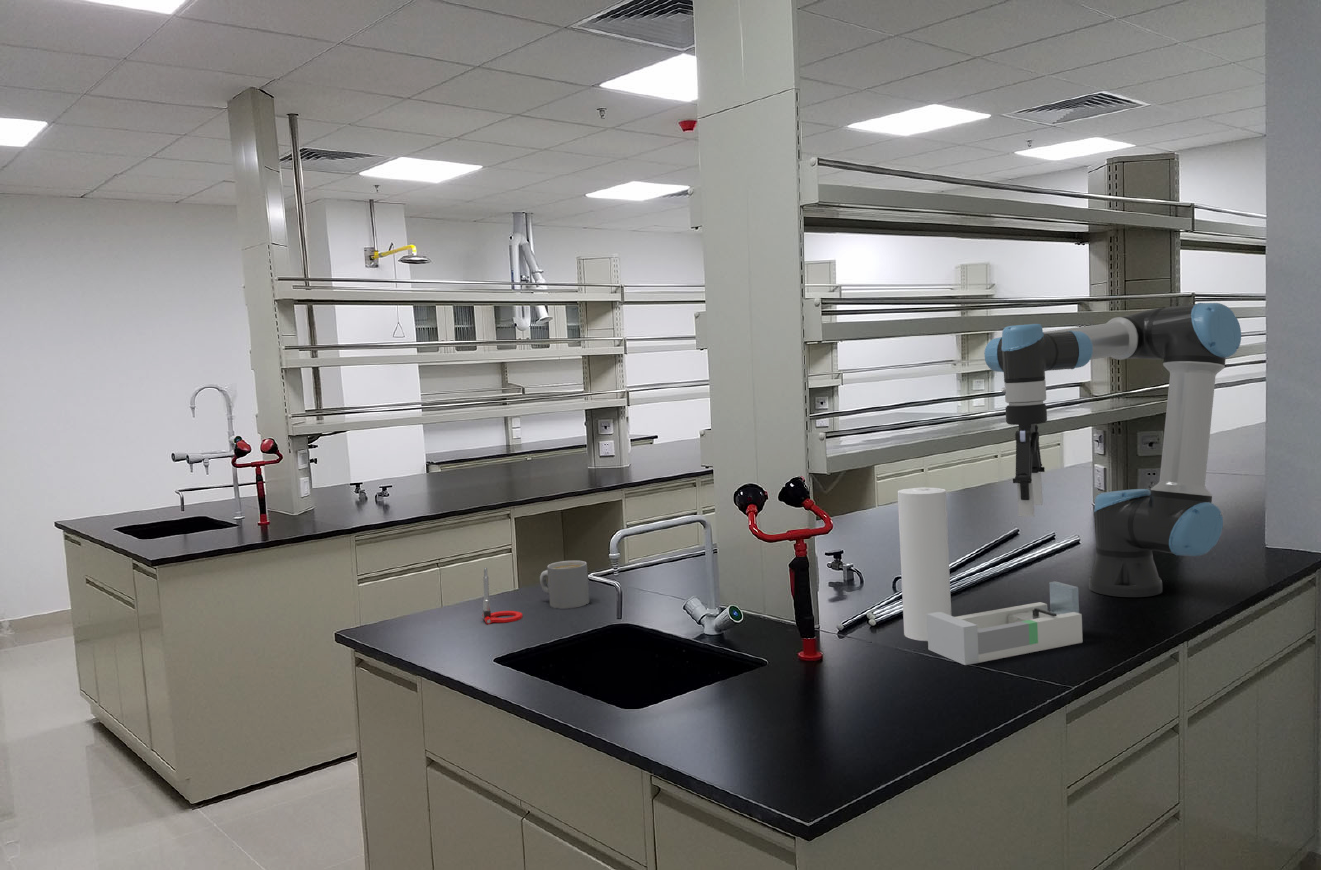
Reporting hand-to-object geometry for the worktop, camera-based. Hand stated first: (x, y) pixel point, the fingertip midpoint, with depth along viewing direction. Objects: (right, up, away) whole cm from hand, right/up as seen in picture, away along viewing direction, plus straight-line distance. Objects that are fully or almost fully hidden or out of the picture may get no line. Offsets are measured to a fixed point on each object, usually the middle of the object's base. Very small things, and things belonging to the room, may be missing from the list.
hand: (1031, 510), depth 183 cm
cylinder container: (-19, -26, +5) cm, 32 cm away
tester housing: (-7, -26, -6) cm, 27 cm away
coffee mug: (-98, -28, +52) cm, 114 cm away
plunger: (0, -23, -4) cm, 24 cm away
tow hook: (-111, -30, +40) cm, 122 cm away
